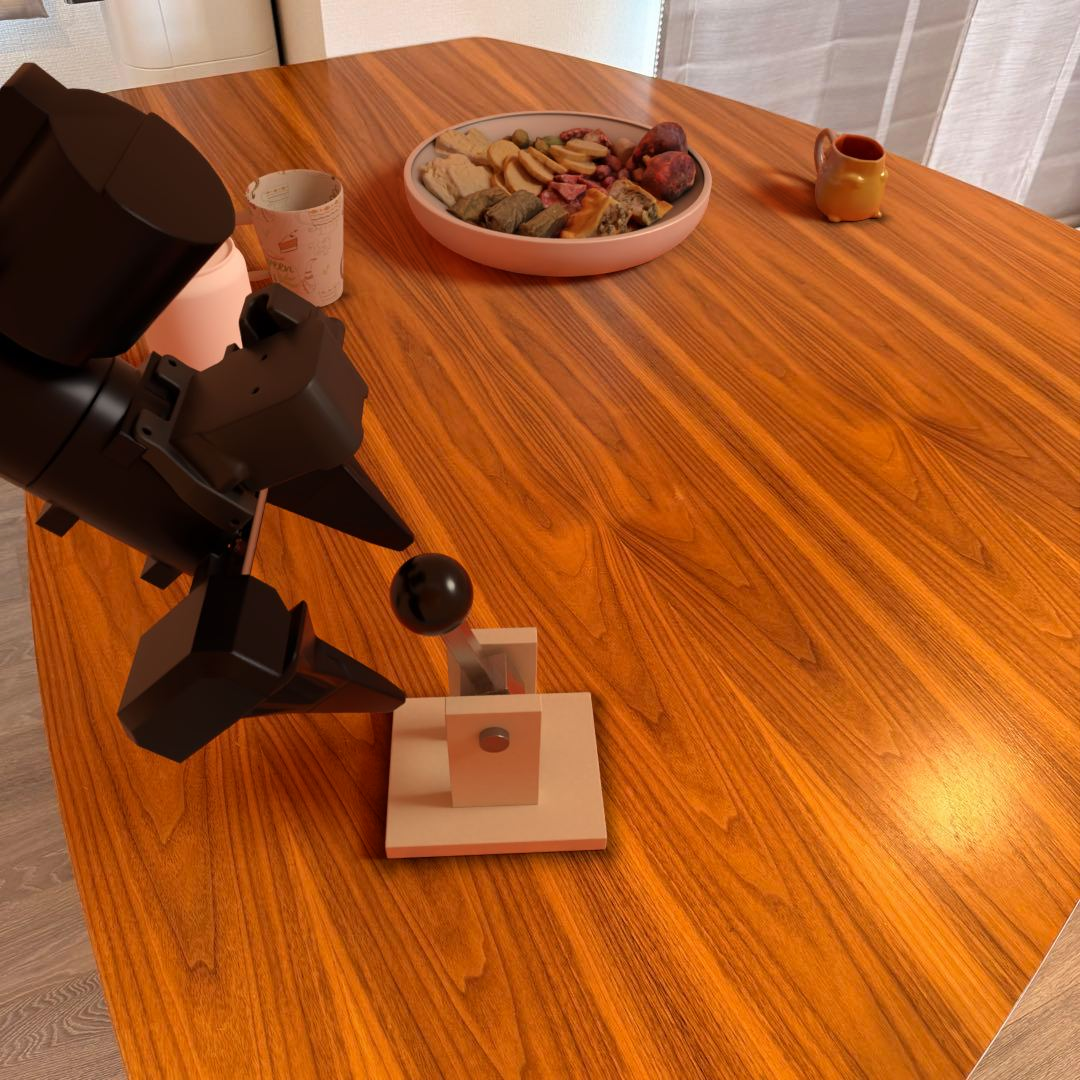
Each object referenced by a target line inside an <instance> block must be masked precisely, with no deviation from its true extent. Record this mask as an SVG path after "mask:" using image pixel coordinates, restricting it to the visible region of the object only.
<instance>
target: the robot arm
mask: <svg viewBox="0 0 1080 1080" xmlns="http://www.w3.org/2000/svg"><path fill="white" fill-rule="evenodd" d="M235 211H236V210H235V206H234V203H233V200H232V196H231V195H230V193H229V191H228V189H227V187H226V185H225V184H224V182H223V180H222V178H221V177H220V175H219V174H218V173H217V171H216V169H215V168H214V167H213V165H212V164H211V163H210V161H209V160H208V159H207V157H205V156H204V155H203V154H202V153H201V152H200V151H199V150H198V148H197V147H196V146H195V145H194V144H193V143H192V142H191V141H190V140H189V139H188V138H187V137H185V135H183V134H182V133H181V132H180V131H179V130H178V129H177V128H176V127H174V126H173V125H172V124H171V123H169V122H168V121H167V120H165V119H164V118H163V117H161V115H159V114H157V113H155V112H152V111H150V112H148V113H145V112H144V111H142V110H140V109H138V108H136V107H135V106H134V105H132V104H130V103H128V102H125V101H123V100H122V99H119V98H117V97H115V96H113V95H110V94H108V93H104V92H101V91H97V90H94V89H90V88H77V87H76V88H75V87H71V88H67V87H66V86H65V85H64V84H63V83H61V81H59V80H58V79H56V78H55V77H53V75H51V74H50V73H49V72H47V71H46V70H45V69H43V68H42V67H41V66H39V65H38V64H37V63H35V62H29V61H27V62H25V61H24V62H23V63H21V64H20V66H19V67H18V68H17V69H16V70H15V72H13V73H12V74H11V76H10V77H9V78H8V79H7V80H6V81H5V82H4V83H3V84H2V86H1V87H0V479H3V480H4V481H6V482H8V483H10V484H12V485H14V486H15V487H17V488H19V489H21V490H23V491H24V492H27V493H28V494H30V495H32V496H34V497H35V498H38V499H40V500H41V501H43V502H44V503H43V505H42V507H41V509H40V512H39V514H38V516H37V518H36V521H35V523H34V524H35V525H37V526H38V527H40V528H42V529H44V530H46V531H47V532H50V533H52V534H54V535H55V536H58V537H59V538H62V539H63V537H64V536H65V535H66V534H67V533H68V532H69V531H70V530H71V529H72V528H73V527H74V526H75V525H76V524H77V523H78V522H79V521H81V522H83V523H85V524H86V525H88V526H90V527H93V528H94V529H96V530H98V531H100V532H102V533H104V534H105V535H107V536H109V537H111V538H112V539H114V540H117V541H118V542H120V543H122V544H124V545H126V546H128V547H130V548H132V549H133V550H135V551H136V552H139V553H141V554H143V555H145V556H146V557H145V561H144V564H143V568H142V570H141V574H140V577H139V579H140V580H142V581H145V582H147V583H149V584H150V585H152V586H155V587H156V588H157V589H160V590H162V591H165V590H166V589H167V588H168V587H169V586H170V585H171V584H172V583H174V581H176V580H177V579H178V578H179V577H180V576H182V574H185V575H186V576H189V578H191V577H192V580H191V585H190V588H189V592H188V594H187V595H186V596H185V597H184V598H183V599H182V600H181V601H179V602H177V604H176V605H175V606H174V607H173V608H171V609H170V610H169V611H168V612H167V613H166V614H164V615H163V616H162V617H161V618H160V619H159V620H157V621H156V622H155V624H153V625H152V626H151V627H150V628H149V629H147V631H145V632H144V633H143V634H142V635H141V636H139V640H138V642H137V646H136V651H135V653H134V657H133V660H132V663H131V666H130V668H129V669H130V670H129V672H128V676H127V679H126V683H125V686H124V689H123V693H122V696H121V698H120V702H119V705H118V709H117V711H116V716H117V718H118V720H119V722H120V725H121V727H122V729H123V731H124V733H125V735H126V737H127V738H128V739H129V740H130V741H131V742H132V743H134V744H135V745H136V746H137V747H139V748H141V749H144V750H146V751H149V752H151V753H153V754H155V755H158V756H160V757H162V758H165V759H167V760H170V761H171V762H172V761H173V762H174V763H177V764H180V765H181V764H182V763H184V762H185V761H187V760H188V759H189V758H190V757H191V756H194V754H196V753H197V752H198V751H200V750H201V749H202V748H205V746H207V745H208V744H209V743H210V742H212V741H213V740H215V739H216V738H217V737H218V736H220V735H222V734H223V733H224V732H225V731H227V730H228V729H230V728H231V727H232V726H233V725H234V724H236V723H238V722H239V721H240V720H244V719H254V718H262V717H263V718H264V717H270V716H279V715H295V714H298V715H299V714H300V715H301V714H302V715H303V714H377V713H378V714H383V713H384V714H385V713H386V714H387V713H388V714H389V713H393V711H394V710H396V709H397V708H399V707H400V706H402V705H403V704H404V703H405V702H406V698H407V694H406V692H405V691H404V690H403V689H401V688H400V687H399V686H397V685H396V684H395V683H393V682H392V681H391V680H389V679H388V678H387V677H385V676H384V675H383V674H381V673H379V672H377V671H376V670H374V669H373V668H371V667H369V666H368V665H366V664H364V663H362V662H361V661H358V660H357V659H355V658H354V657H352V656H350V655H348V654H347V653H346V652H343V651H342V650H340V649H338V648H337V647H335V646H333V645H332V644H330V643H329V642H327V641H326V640H324V639H321V638H320V637H319V636H318V635H316V633H315V629H314V625H313V621H312V618H311V613H310V610H309V605H308V603H307V602H306V600H304V599H302V600H301V601H299V602H298V603H297V604H296V605H294V606H293V607H292V608H291V609H290V610H289V609H288V607H287V606H286V604H285V602H284V601H283V599H282V597H281V595H280V594H279V592H278V590H277V589H276V587H274V586H271V585H270V584H269V583H266V582H264V581H262V580H261V579H259V578H257V577H255V576H254V575H252V570H253V566H254V559H255V556H256V551H257V547H258V542H259V537H260V532H261V528H262V523H263V518H264V514H265V510H266V504H269V505H272V506H274V507H277V508H279V509H282V510H285V511H287V512H289V513H292V514H295V515H298V516H300V517H302V518H305V519H306V520H307V519H308V520H310V521H313V522H316V523H318V524H320V525H322V526H326V527H328V528H330V529H333V530H336V531H338V532H341V533H343V534H346V535H348V536H350V537H353V538H356V539H358V540H361V541H362V542H363V541H364V542H366V543H368V544H370V545H371V544H372V545H374V546H377V547H381V548H384V549H388V550H391V551H395V552H399V553H400V552H404V551H405V550H406V549H408V548H409V547H410V546H411V545H413V544H414V542H415V534H414V532H413V531H412V530H411V528H410V527H409V526H408V524H407V523H406V522H405V520H404V519H403V518H402V517H401V515H400V514H399V513H398V511H397V510H396V509H395V507H393V505H392V504H391V503H390V501H389V500H388V498H387V497H386V496H385V494H383V492H382V491H381V490H380V488H379V487H378V486H377V484H376V483H375V482H374V481H373V480H372V478H371V477H370V476H369V475H368V473H367V472H366V470H365V469H364V468H363V466H362V465H361V463H360V462H359V461H358V459H357V458H356V456H355V455H356V453H357V452H358V451H359V449H360V448H361V446H362V443H363V442H364V441H363V440H364V436H365V429H364V427H363V414H364V407H365V400H366V399H368V398H369V392H370V387H369V385H368V384H367V382H366V380H365V379H364V378H363V376H362V375H361V374H360V372H359V371H358V369H357V368H356V366H355V365H354V363H353V362H352V361H351V359H350V358H349V356H348V355H347V353H346V352H345V350H344V343H345V337H346V325H345V323H344V322H343V321H342V320H341V319H340V318H338V317H333V316H329V317H328V316H327V314H326V313H325V312H324V311H323V309H322V307H320V306H317V307H316V306H315V305H313V304H312V303H310V302H309V301H307V300H305V299H304V298H302V297H301V296H299V295H297V294H296V293H294V292H292V291H291V290H289V289H287V288H286V287H284V286H283V285H281V284H279V283H277V282H275V283H273V282H272V283H270V284H268V285H266V286H264V287H261V288H259V289H257V290H255V291H253V292H252V293H250V294H249V295H247V296H246V298H245V301H244V304H243V308H242V311H241V314H240V317H239V330H240V336H241V341H242V347H243V348H241V349H240V348H239V347H238V345H237V344H236V343H233V344H230V345H228V346H227V347H226V351H225V354H224V357H223V359H222V360H221V361H220V362H218V363H217V364H215V365H213V366H211V367H209V368H207V369H205V370H203V371H198V370H196V369H194V368H191V367H189V366H187V365H186V364H184V363H183V362H181V361H180V360H178V359H177V358H175V357H174V356H172V355H168V354H166V355H163V356H161V355H159V354H158V353H156V352H155V351H152V352H151V353H150V352H149V355H148V356H147V357H146V358H145V359H144V360H143V361H142V362H141V363H140V365H138V366H137V367H135V366H134V365H132V364H131V363H130V362H127V361H126V360H124V359H123V358H121V357H120V356H121V355H124V354H127V353H128V352H129V351H130V350H131V349H132V348H133V347H134V346H135V345H136V344H137V343H138V341H140V340H141V338H143V336H144V333H145V332H146V331H147V330H148V329H149V328H150V327H151V326H152V324H153V323H154V322H155V321H156V320H157V319H158V318H159V316H160V315H161V314H162V313H163V312H164V311H165V310H166V308H167V307H168V306H169V305H170V304H171V303H172V302H173V300H174V299H175V298H176V297H177V296H178V295H179V294H180V292H181V291H182V290H183V289H184V288H185V287H186V286H187V285H188V283H189V282H190V281H191V280H192V279H193V278H194V277H195V275H196V274H197V273H198V272H199V271H200V270H201V269H202V267H203V266H204V265H205V264H206V263H207V262H208V261H209V259H210V258H211V257H212V256H213V255H214V254H215V253H216V252H217V250H218V249H219V248H220V247H221V246H222V245H223V244H224V242H225V241H226V240H227V239H228V238H229V237H230V238H231V236H232V235H233V233H234V232H235V229H236V226H235V225H236V220H235Z"/></svg>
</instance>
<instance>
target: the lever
mask: <svg viewBox="0 0 1080 1080" xmlns="http://www.w3.org/2000/svg"><path fill="white" fill-rule="evenodd" d="M474 591H475V590H474V585H473V580H472V578H471V576H470V573H468V571H467V569H466V568H465V567H464V566H463V565H462V564H461V562H459V560H456V559H455V558H453V557H452V556H449V555H447V554H444V553H439V552H424V553H420V554H417V555H415V556H412V557H410V558H408V559H407V560H406V561H404V563H402V564H401V565H400V566H399V568H398V569H397V570H396V572H395V573H394V575H393V577H392V579H391V582H390V586H389V594H388V595H389V597H388V598H389V604H390V608H391V611H392V613H393V615H394V616H395V618H396V620H397V621H398V622H399V623H400V624H401V626H403V628H405V629H406V630H408V631H410V632H411V633H413V634H416V635H419V636H423V637H432V638H433V637H440V638H441V640H442V641H443V643H444V644H445V647H446V646H447V647H448V649H449V650H450V652H451V653H452V655H453V656H454V658H455V660H456V661H457V663H458V664H459V666H460V696H485V695H515V694H525V684H524V682H523V681H522V679H521V677H520V676H519V674H518V672H517V670H516V669H515V667H514V665H513V664H512V662H511V660H510V658H509V657H508V655H507V653H506V652H502V653H499V654H495V655H491V656H487V655H486V653H485V652H484V650H483V649H482V647H481V645H480V644H479V642H478V640H477V639H476V637H475V635H474V634H473V632H472V630H471V629H472V628H471V627H470V626H469V623H468V622H467V620H466V619H467V618H468V616H469V614H470V612H471V610H472V607H473V605H474V597H475V594H474V593H475V592H474Z"/></svg>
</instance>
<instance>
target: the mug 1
mask: <svg viewBox="0 0 1080 1080" xmlns="http://www.w3.org/2000/svg"><path fill="white" fill-rule="evenodd" d="M244 197H245V203H246V207H247V209H243V210H235V220H236V225H235V227H237V226H238V227H239V226H250V225H253V226H254V230H255V232H256V236H257V239H258V242H259V244H260V247H261V251H262V254H263V256H264V259H265V262H266V265H267V268H268V269H259V270H253V271H252V270H251V271H247V272H248V277H249V282H257V281H262V280H267V279H272V284H273V283H275V282H277V283H279V284H281V285H283V286H284V287H286V288H287V289H289V290H291V291H292V292H294V293H296V294H297V295H299V296H301V297H302V298H304V299H305V300H307V301H309V302H310V303H312V304H313V305H315V306H316V307H317V306H320V308H322V307H323V308H324V307H326V306H328V305H331V304H332V303H333V304H334V302H336V301H337V300H339V298H340V297H342V294H343V291H344V198H345V197H344V188H343V185H342V183H341V181H340V180H339V179H338V178H337V177H335V176H334V175H332V174H330V173H327V172H323V171H320V170H315V169H299V168H297V169H287V170H280V171H275V172H271V173H267V174H264V175H263V176H260V177H258V178H256V179H255V180H253V181H251V183H249V185H248V186H247V187H246V188H245V191H244Z"/></svg>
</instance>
